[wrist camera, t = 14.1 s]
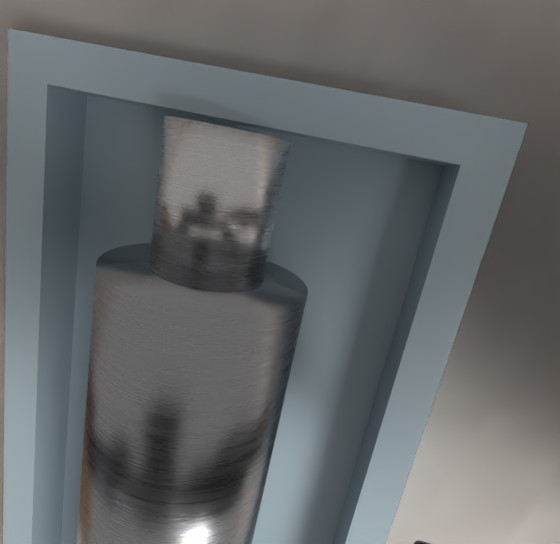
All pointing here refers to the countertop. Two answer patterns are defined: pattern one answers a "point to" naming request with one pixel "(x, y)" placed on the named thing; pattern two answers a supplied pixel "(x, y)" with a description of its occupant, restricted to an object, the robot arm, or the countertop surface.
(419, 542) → the robot arm
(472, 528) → the countertop surface
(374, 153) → the tray
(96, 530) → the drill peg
